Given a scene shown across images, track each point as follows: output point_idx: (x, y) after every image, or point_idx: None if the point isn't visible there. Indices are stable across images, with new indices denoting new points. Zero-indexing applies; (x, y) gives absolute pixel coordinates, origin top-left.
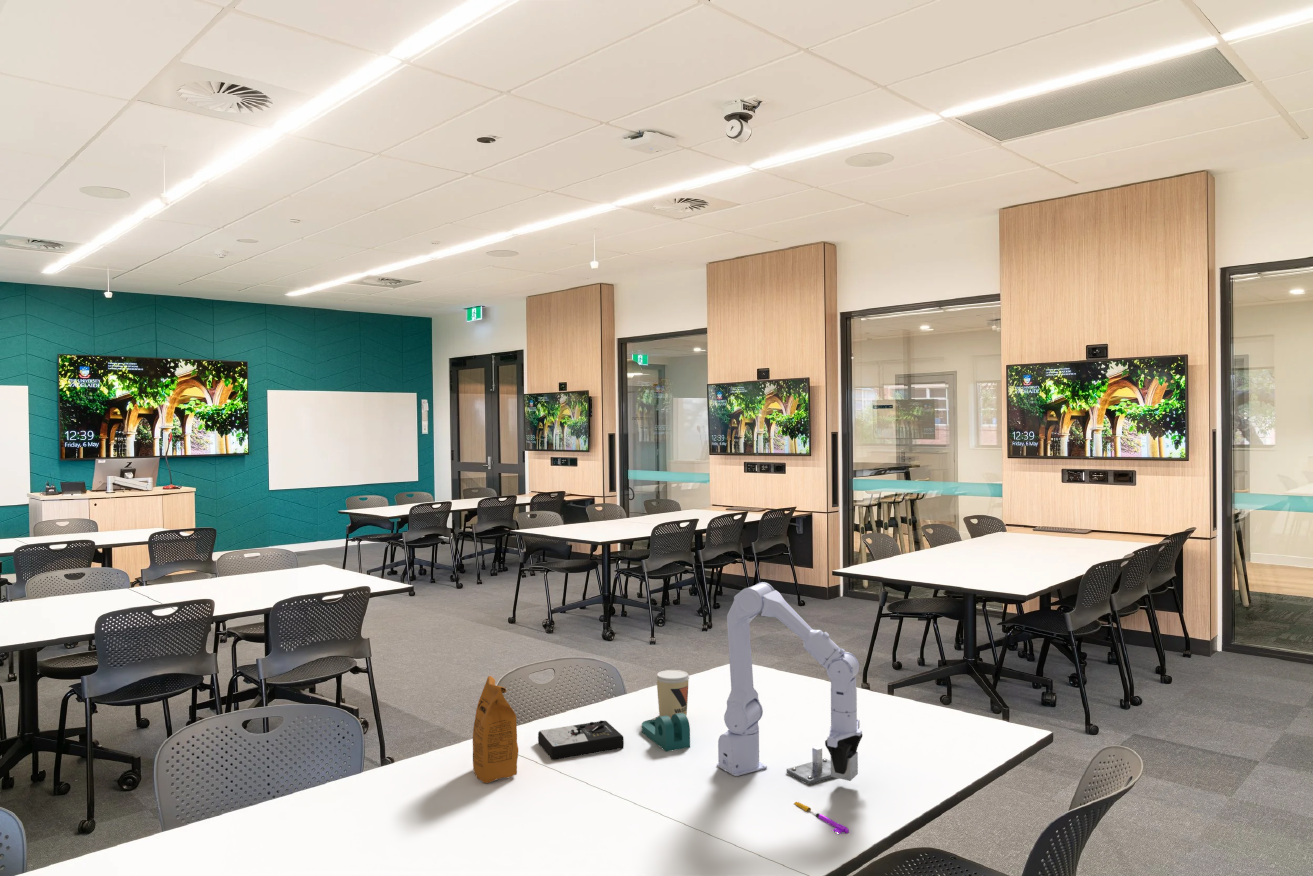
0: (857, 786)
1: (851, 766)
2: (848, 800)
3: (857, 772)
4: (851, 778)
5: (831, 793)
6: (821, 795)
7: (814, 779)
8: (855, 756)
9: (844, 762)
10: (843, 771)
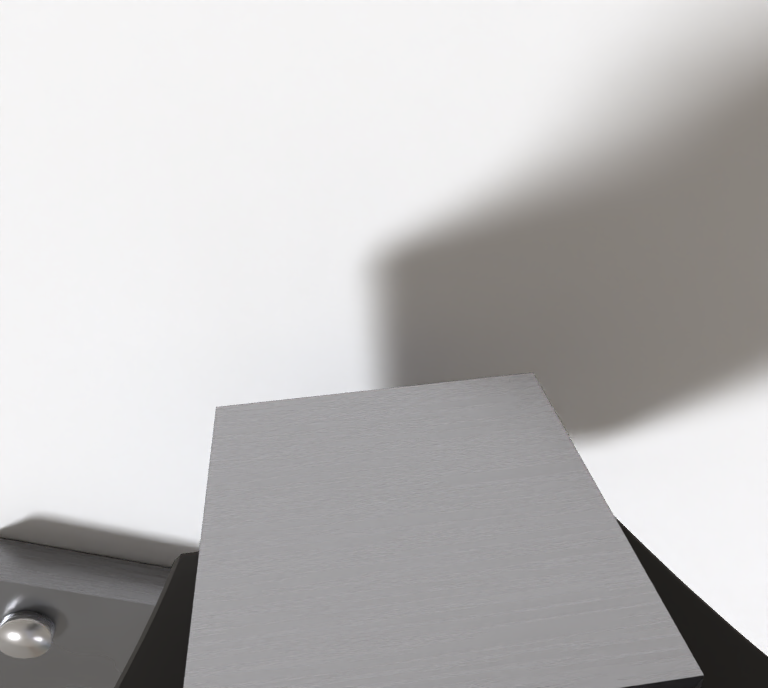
0: (246, 314)
1: (550, 525)
2: (698, 221)
3: (225, 424)
4: (491, 391)
5: (594, 432)
6: (682, 475)
7: None
8: (331, 671)
9: (765, 657)
10: (630, 535)
